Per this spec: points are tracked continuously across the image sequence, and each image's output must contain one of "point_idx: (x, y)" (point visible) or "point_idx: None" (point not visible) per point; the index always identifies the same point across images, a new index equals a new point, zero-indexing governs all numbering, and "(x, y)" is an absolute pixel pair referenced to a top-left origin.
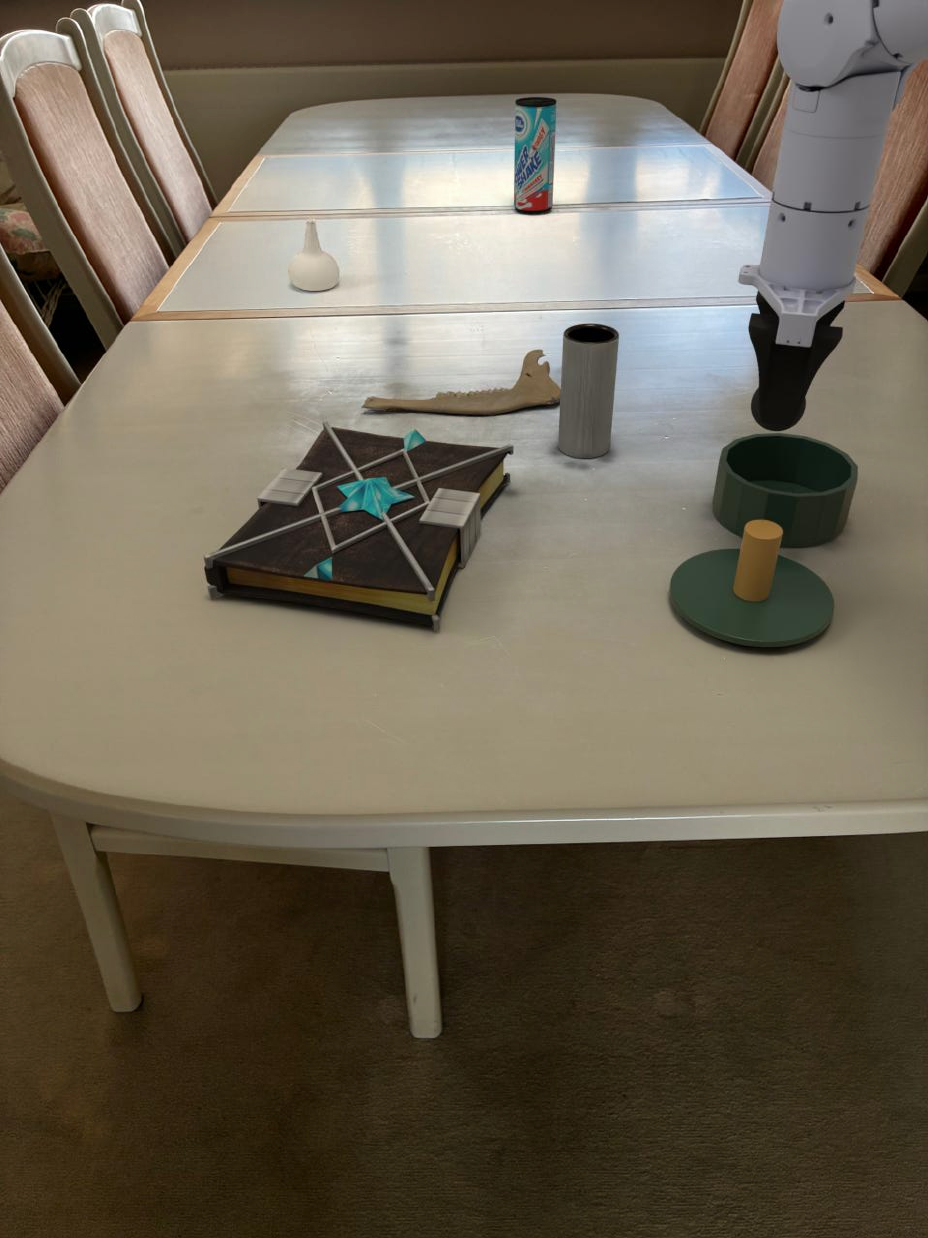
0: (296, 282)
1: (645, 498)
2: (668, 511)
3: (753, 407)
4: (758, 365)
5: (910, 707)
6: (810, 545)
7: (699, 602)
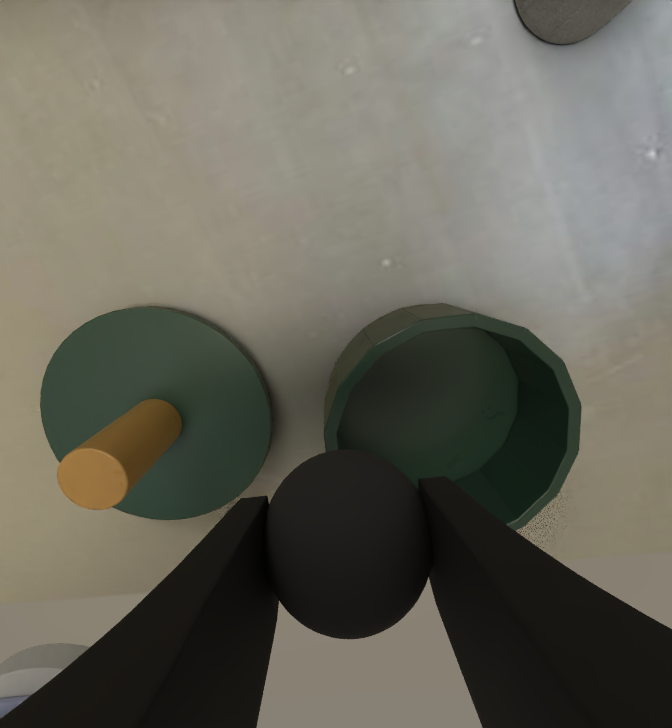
0: None
1: (396, 186)
2: (367, 240)
3: (295, 474)
4: (36, 692)
5: (76, 592)
6: None
7: (91, 363)
